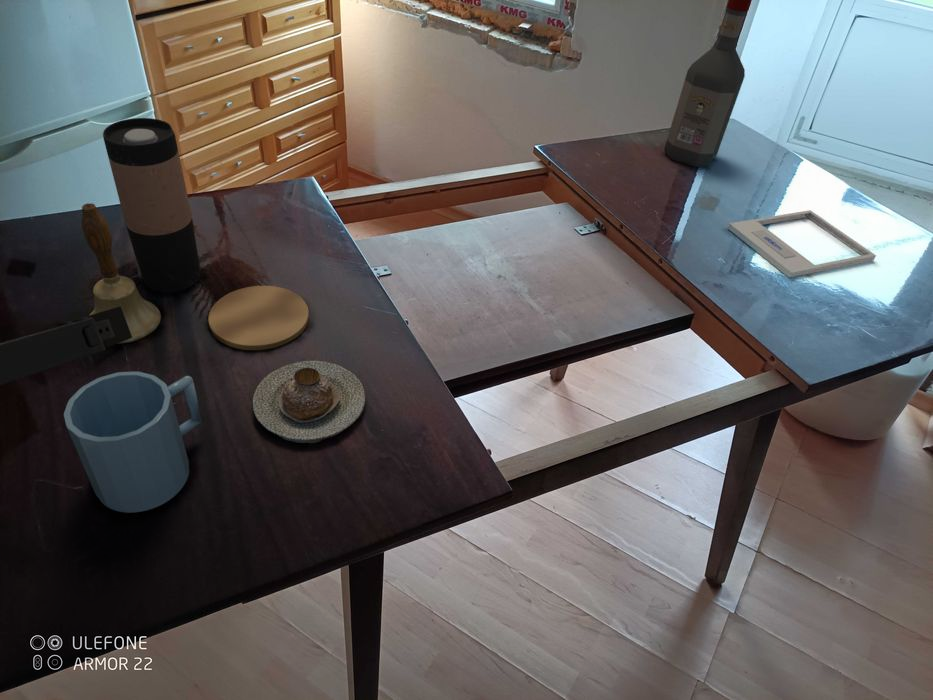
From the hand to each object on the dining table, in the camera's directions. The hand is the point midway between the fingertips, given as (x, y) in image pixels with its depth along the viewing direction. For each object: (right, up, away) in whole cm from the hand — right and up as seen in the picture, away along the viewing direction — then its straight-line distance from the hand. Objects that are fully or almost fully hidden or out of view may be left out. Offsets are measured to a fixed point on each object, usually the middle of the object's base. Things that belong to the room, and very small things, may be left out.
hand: (51, 341), depth 57 cm
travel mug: (-4, +9, +33) cm, 34 cm away
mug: (+4, -12, +10) cm, 16 cm away
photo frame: (+89, +17, +55) cm, 106 cm away
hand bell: (-7, +3, +26) cm, 26 cm away
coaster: (+9, +3, +28) cm, 30 cm away
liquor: (+79, +37, +77) cm, 116 cm away
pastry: (+18, -7, +18) cm, 26 cm away
